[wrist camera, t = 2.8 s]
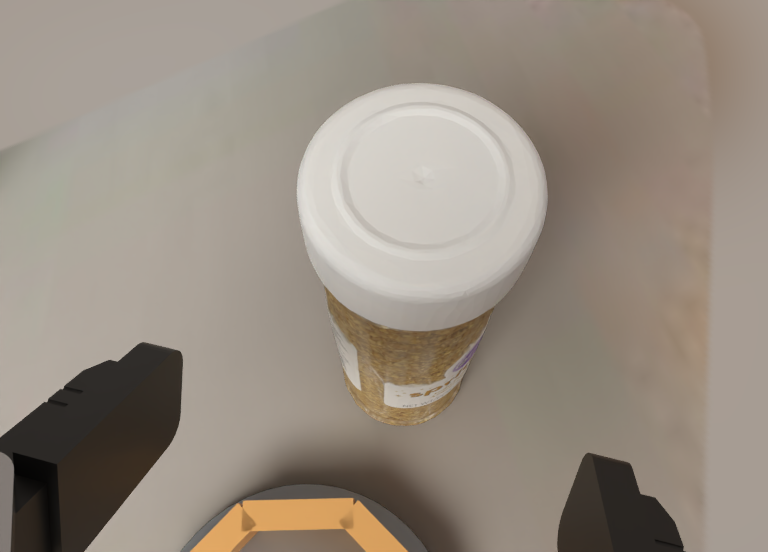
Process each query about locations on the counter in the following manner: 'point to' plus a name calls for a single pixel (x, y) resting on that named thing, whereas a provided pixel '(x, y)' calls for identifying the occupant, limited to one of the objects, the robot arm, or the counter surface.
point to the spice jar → (417, 236)
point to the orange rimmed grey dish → (305, 524)
